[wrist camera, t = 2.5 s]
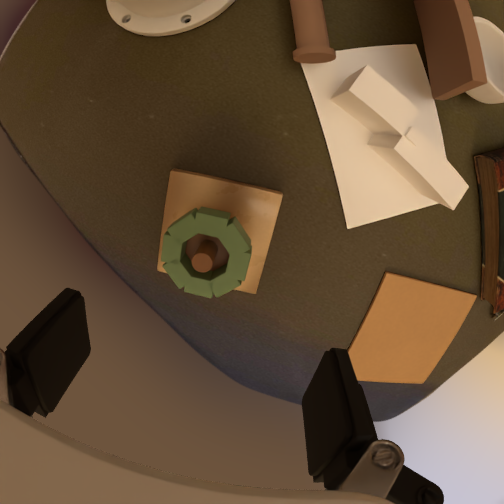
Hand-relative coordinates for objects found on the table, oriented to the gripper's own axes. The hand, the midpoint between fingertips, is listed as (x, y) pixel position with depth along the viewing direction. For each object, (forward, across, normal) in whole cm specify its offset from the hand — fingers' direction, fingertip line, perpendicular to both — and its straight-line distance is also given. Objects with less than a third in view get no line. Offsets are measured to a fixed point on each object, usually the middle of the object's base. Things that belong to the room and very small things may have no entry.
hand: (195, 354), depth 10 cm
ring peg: (+16, +1, +1) cm, 16 cm away
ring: (+12, +1, +1) cm, 12 cm away
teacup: (+16, -17, -21) cm, 32 cm away
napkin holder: (+16, -10, -11) cm, 22 cm away
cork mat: (+16, -21, +8) cm, 28 cm away
